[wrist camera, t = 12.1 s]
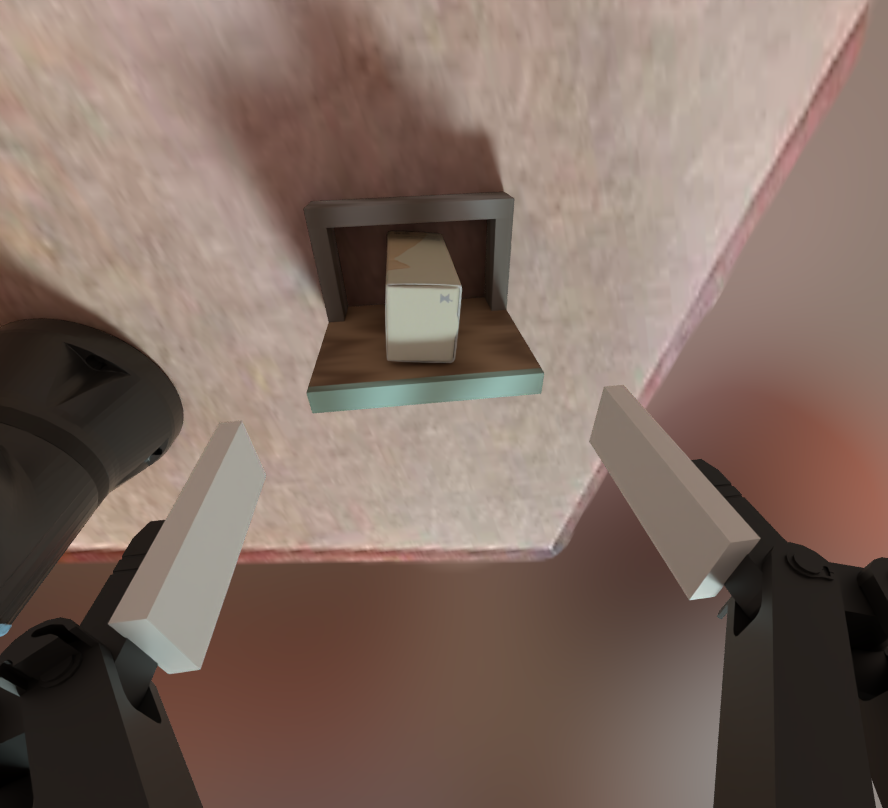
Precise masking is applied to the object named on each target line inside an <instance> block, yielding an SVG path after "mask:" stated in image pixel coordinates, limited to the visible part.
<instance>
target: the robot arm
mask: <svg viewBox="0 0 888 808" xmlns="http://www.w3.org/2000/svg"><path fill="white" fill-rule="evenodd" d="M182 425H183V407H182V403H181V400H180V397H179V395H178V393H177V391H176V389H175V388H174V386H173V384H172V383H171V381H170V380H169V379H168V378H167V376H166V375H165V374H164V373H163V372H162V371H161V370H160V369H159V368H158V367H157V366H156V365H155V364H154V363H153V362H152V361H151V360H150V359H148V358H147V357H146V356H145V355H143V354H142V353H141V352H139V351H138V350H136V349H135V348H133V347H132V346H130V345H128V344H127V343H125V342H123V341H121V340H119V339H117V338H115V337H113V336H111V335H109V334H107V333H104V332H102V331H99V330H97V329H94V328H91V327H88V326H84V325H81V324H77V323H73V322H68V321H62V320H54V319H28V320H21V321H16V322H12V323H9V324H6V325H4V326H2V327H0V636H3V635H5V634H6V633H7V632H8V631H9V629H10V628H11V624H12V623H13V621H14V620H15V619H16V617H17V616H18V614H19V613H20V612H21V610H22V609H23V608H24V606H25V605H26V604H27V602H28V601H29V600H30V598H31V597H32V596H33V594H34V593H35V591H36V590H37V589H38V587H39V586H40V585H41V583H42V582H43V581H44V579H45V578H46V577H47V575H48V574H49V573H50V571H51V570H52V568H53V567H54V566H55V564H56V563H57V562H58V560H59V559H60V558H61V556H62V555H63V554H64V552H65V551H66V550H67V548H68V547H69V546H70V544H71V543H72V541H73V540H74V539H75V537H76V536H77V535H78V533H79V532H80V531H81V529H82V528H83V527H84V525H85V524H86V522H87V521H88V520H89V518H90V517H91V516H92V514H93V513H94V511H95V510H96V509H97V508H98V506H99V505H100V504H101V502H102V501H103V500H104V498H105V497H106V496H107V495H108V494H109V493H110V492H111V491H113V490H114V489H116V488H117V487H119V486H120V485H122V484H123V483H125V482H126V481H128V480H129V479H131V478H132V477H134V476H135V475H137V474H138V473H140V472H141V471H143V470H144V469H146V468H147V467H148V466H150V465H152V464H153V463H154V462H156V461H157V460H159V459H160V458H161V457H162V456H163V455H164V454H165V453H166V452H167V451H168V449H169V448H170V446H171V445H172V443H173V442H174V440H175V439H176V438H177V436H178V435H179V433H180V431H181V428H182ZM589 442H590V443H591V445H592V446H593V448H594V450H595V451H596V453H597V454H598V456H599V457H600V459H601V461H602V462H603V464H604V465H605V467H606V469H607V470H608V472H609V473H610V475H611V476H612V478H613V480H614V481H615V483H616V484H617V486H618V487H619V489H620V490H621V492H622V494H623V495H624V497H625V499H626V500H627V502H628V504H629V505H630V507H631V508H632V510H633V511H634V513H635V515H636V516H637V518H638V519H639V521H640V522H641V524H642V526H643V527H644V529H645V530H646V532H647V534H648V535H649V537H650V538H651V540H652V542H653V543H654V545H655V546H656V548H657V550H658V551H659V553H660V554H661V556H662V557H663V559H664V561H665V562H666V564H667V565H668V567H669V569H670V570H671V572H672V573H673V575H674V577H675V578H676V580H677V581H678V583H679V585H680V586H681V588H682V589H683V591H684V592H685V594H686V596H687V597H688V599H689V600H694V599H701V598H708V597H715V596H716V595H717V593H718V592H719V591H720V590H721V588H722V587H723V586H725V587H726V588H727V590H728V591H729V592H730V594H731V595H732V596H731V598H730V599H729V600H728V601H727V602H726V604H725V605H724V606H723V607H722V608H721V610H720V611H719V613H718V616H717V617H718V618H720V619H722V618H723V617H724V616H725V615H726V614H727V627H726V640H725V654H724V668H723V681H722V695H721V709H720V710H721V711H720V723H719V736H718V750H717V764H716V778H715V791H714V805H713V808H876V806H875V799H874V793H873V787H872V781H873V784H874V786H875V789H876V792H877V794H878V797H879V799H880V802H881V805H882V807H883V808H888V558H883V557H881V558H878V559H875V560H873V561H872V562H871V563H869V564H868V565H867V566H866V567H865V568H861V567H855V566H848V565H843V564H837V563H831V562H828V561H827V560H826V559H824V558H823V557H822V556H820V555H819V554H818V553H816V552H815V551H813V550H811V549H809V548H807V547H805V546H803V545H799V544H795V543H791V542H787V541H786V540H785V539H783V538H782V537H781V536H780V534H779V533H778V532H777V531H776V530H775V529H774V528H773V527H772V526H771V525H770V524H769V523H768V522H767V521H766V520H765V519H764V518H763V517H762V515H761V514H759V512H758V511H757V510H756V509H755V508H754V507H753V506H752V505H751V504H750V503H749V502H748V501H747V500H746V499H745V498H744V497H742V496H741V495H742V494H741V493H740V492H739V491H738V490H737V489H736V488H735V487H734V486H732V485H731V483H730V482H729V481H728V480H727V479H726V477H724V475H723V474H722V473H721V472H720V471H719V470H718V469H716V468H714V467H713V466H711V465H710V464H708V463H706V462H705V461H704V460H702V459H698V460H690V459H689V458H688V457H687V456H686V454H685V453H684V452H683V451H682V450H681V449H680V448H679V447H678V446H677V444H676V443H675V442H674V441H673V440H672V439H671V438H670V437H669V435H668V434H667V433H666V432H665V431H664V430H663V429H662V428H661V426H660V425H659V424H658V423H657V422H656V421H655V420H654V419H653V417H652V416H651V415H650V414H649V413H648V412H647V411H646V410H645V408H644V407H643V406H642V405H641V404H640V403H639V402H638V401H637V400H636V398H635V397H634V396H633V395H632V394H631V393H630V392H629V391H628V389H627V388H626V387H625V386H624V385H618V386H607V387H604V389H603V392H602V396H601V400H600V404H599V407H598V411H597V415H596V419H595V422H594V426H593V430H592V434H591V437H590V441H589ZM265 478H266V474H265V471H264V469H263V467H262V465H261V462H260V460H259V458H258V456H257V453H256V451H255V449H254V447H253V444H252V442H251V440H250V438H249V435H248V433H247V431H246V428H245V426H244V424H243V422H242V421H235V422H224V423H219V424H218V426H217V428H216V430H215V431H214V433H213V435H212V437H211V439H210V441H209V442H208V444H207V446H206V448H205V450H204V451H203V453H202V455H201V457H200V459H199V460H198V462H197V464H196V466H195V468H194V469H193V471H192V473H191V475H190V477H189V478H188V480H187V482H186V484H185V486H184V487H183V489H182V491H181V493H180V495H179V496H178V498H177V500H176V502H175V504H174V505H173V507H172V509H171V511H170V513H169V514H168V516H167V518H166V520H159V521H151V522H149V523H148V524H147V525H146V526H145V527H144V528H143V529H142V530H141V531H140V532H139V533H138V534H137V535H136V536H135V537H134V538H133V539H132V541H131V542H130V544H129V545H128V547H127V549H126V550H125V552H124V554H123V555H122V560H119V562H118V564H117V565H116V567H115V569H114V570H113V575H110V577H109V578H108V580H107V582H106V583H105V585H104V587H103V588H102V590H101V592H100V593H99V595H98V597H97V598H96V600H95V601H94V603H93V605H92V606H91V608H90V610H89V611H88V613H87V615H86V616H85V618H84V620H83V621H82V623H81V624H80V626H79V625H78V624H76V623H75V622H74V621H72V620H71V619H66V618H61V617H60V618H56V619H51V620H47V621H45V622H43V623H40V624H38V625H36V626H34V627H32V628H30V629H29V630H28V631H26V632H25V633H24V634H22V635H21V636H19V637H18V638H17V639H15V640H14V641H13V642H12V643H11V644H10V645H9V646H8V647H7V648H6V649H5V650H4V651H3V653H2V654H1V655H0V808H203V806H202V804H201V801H200V798H199V796H198V793H197V791H196V788H195V786H194V783H193V781H192V778H191V775H190V773H189V770H188V768H187V765H186V762H185V760H184V757H183V755H182V752H181V750H180V747H179V744H178V742H177V739H176V737H175V734H174V732H173V729H172V726H171V724H170V721H169V719H168V716H167V714H166V711H165V709H164V706H163V703H162V701H161V699H160V696H159V693H158V690H157V688H156V686H155V685H154V683H153V682H152V681H151V680H152V677H153V675H154V672H155V670H156V668H157V665H158V666H159V667H161V668H162V669H163V670H164V671H166V672H167V673H168V674H172V673H179V672H187V671H193V670H200V669H201V666H202V663H203V660H204V657H205V654H206V651H207V648H208V645H209V642H210V640H211V636H212V633H213V631H214V628H215V625H216V622H217V619H218V616H219V613H220V610H221V607H222V604H223V601H224V598H225V595H226V592H227V590H228V587H229V584H230V581H231V578H232V575H233V572H234V569H235V566H236V563H237V560H238V557H239V554H240V551H241V548H242V545H243V542H244V540H245V537H246V534H247V531H248V528H249V525H250V522H251V519H252V516H253V513H254V510H255V507H256V504H257V501H258V498H259V495H260V492H261V490H262V487H263V484H264V481H265ZM871 779H872V780H871Z"/></svg>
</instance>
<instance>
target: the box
mask: <svg viewBox="0 0 888 808" xmlns="http://www.w3.org/2000/svg"><path fill="white" fill-rule="evenodd" d="M461 294H462V286H461V283H460V280H459V278H458V275H457V273H456V270H455V267H454V265H453V262H452V260H451V257H450V254H449V252H448V249H447V247H446V244H445V242H444V239H443V237H442V235H441V234H437V233H426V232H406V231H389V232H388V234H387V267H386V293H385V329H386V354H387V360H388V361H396V362H426V363H452V362H454V360H455V355H456V348H457V338H458V328H459V318H460V306H461Z"/></svg>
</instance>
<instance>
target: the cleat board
mask: <svg viewBox="0 0 888 808" xmlns="http://www.w3.org/2000/svg"><path fill="white" fill-rule="evenodd" d="M513 211H514V198H513V197H511V196H510V195H508V194H507V193H505V192H490V193H470V194H449V195H429V196H409V197H389V198H368V199H348V200H328V201H311V202H310V203H309V204H308V205H307V206H306V207H305V208H304V214H305V218H306V223H307V227H308V232H309V236H310V241H311V245H312V250H313V254H314V259H315V263H316V267H317V272H318V276H319V281H320V285H321V290H322V294H323V299H324V303H325V308H326V312H327V317H328V321H329V324H328V327H327V330H326V333H325V336H324V339H323V342H322V346H321V349H320V352H319V355H318V358H317V361H316V364H315V368H314V371H313V374H312V377H311V380H310V383H309V386H308V390H307V396H308V400H309V403H310V406H311V410H312V413H322V412H334V411H345V410H357V409H369V408H380V407H392V406H403V405H415V404H426V403H438V402H449V401H461V400H472V399H484V398H495V397H507V396H519V395H530V394H541V391H542V385H543V378H544V372H543V370H542V368H541V367H540V365H539V363H538V362H537V360H536V358H535V357H534V355H533V353H532V352H531V350H530V348H529V347H528V345H527V343H526V342H525V340H524V338H523V337H522V335H521V333H520V332H519V330H518V328H517V327H516V325H515V323H514V322H513V320H512V318H511V317H510V315H509V313H508V312H507V310H506V308H507V294H508V280H509V266H510V253H511V239H512V225H513ZM481 219H487V238H486V266H485V294H484V297H479V298H464V299H461V306H460V318H459V328H458V338H457V348H456V355H455V360H454V362H452V363H426V362H396V361H388V360H387V354H386V329H385V304H376V305H361V306H348V303H347V298H346V292H345V287H344V282H343V276H342V271H341V266H340V260H339V255H338V250H337V244H336V239H335V234H334V228H333V227H351V226H370V225H388V224H407V223H425V222H444V221H462V220H481Z"/></svg>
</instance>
